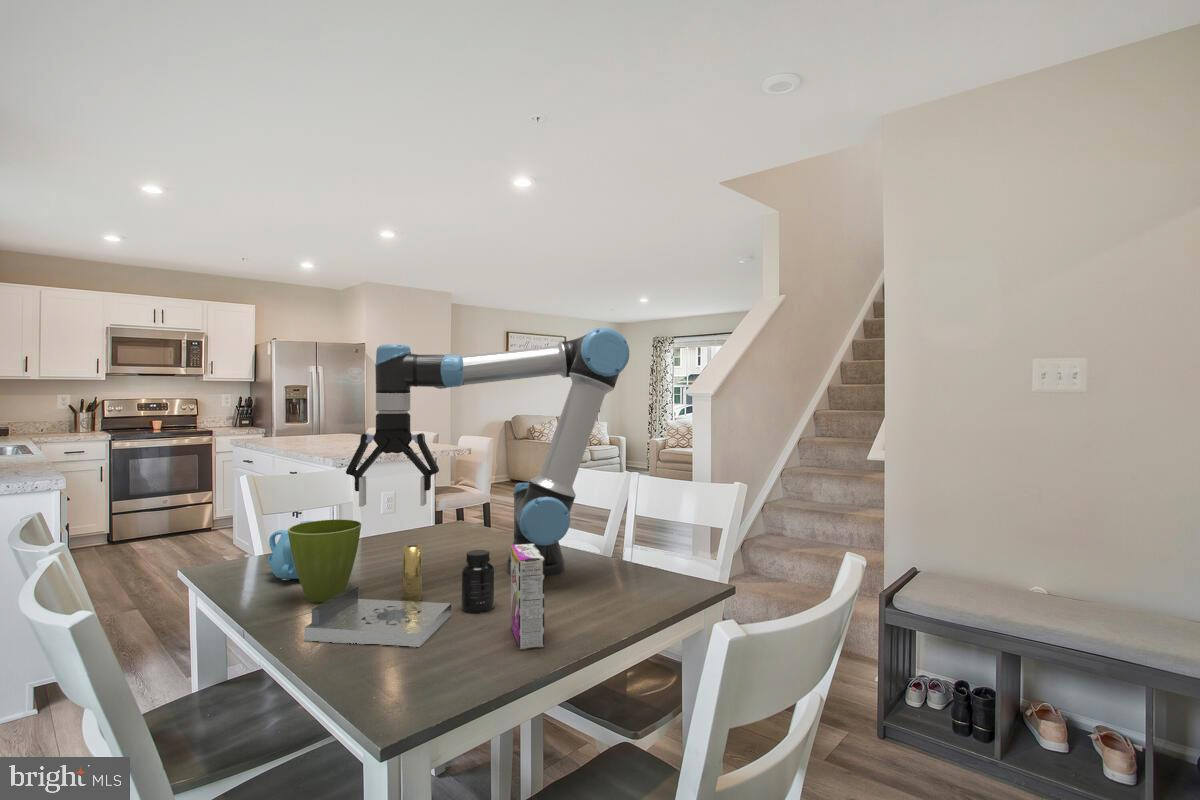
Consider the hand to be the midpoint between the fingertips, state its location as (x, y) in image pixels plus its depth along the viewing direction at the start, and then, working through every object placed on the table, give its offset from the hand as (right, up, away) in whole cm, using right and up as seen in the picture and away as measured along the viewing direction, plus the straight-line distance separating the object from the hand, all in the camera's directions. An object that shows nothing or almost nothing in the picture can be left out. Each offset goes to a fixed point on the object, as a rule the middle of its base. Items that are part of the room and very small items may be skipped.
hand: (393, 505), depth 135 cm
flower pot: (-14, -20, -3) cm, 25 cm away
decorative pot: (-27, -20, +14) cm, 36 cm away
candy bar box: (+34, -21, -24) cm, 46 cm away
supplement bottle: (+21, -21, -9) cm, 31 cm away
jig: (+5, -20, -20) cm, 29 cm away
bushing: (+6, -20, -4) cm, 21 cm away
